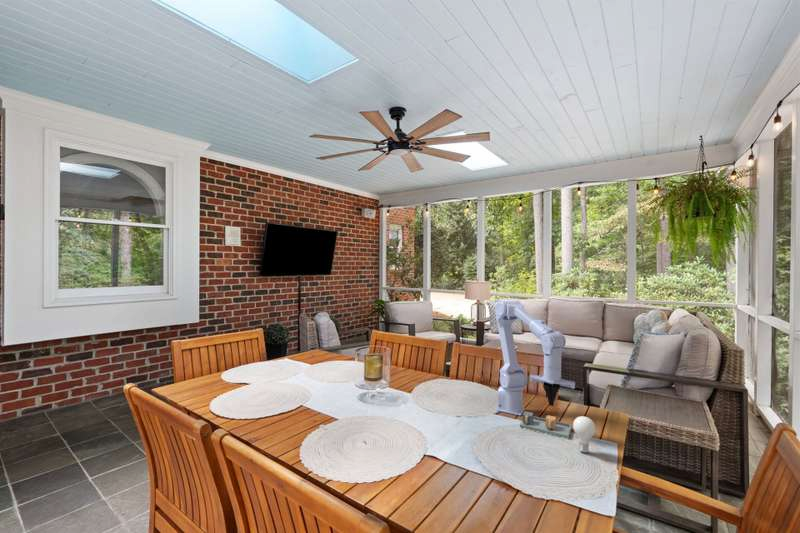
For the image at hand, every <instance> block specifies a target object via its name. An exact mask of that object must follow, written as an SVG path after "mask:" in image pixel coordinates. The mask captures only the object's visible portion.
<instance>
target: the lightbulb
mask: <svg viewBox="0 0 800 533" xmlns="http://www.w3.org/2000/svg"><path fill="white" fill-rule="evenodd" d="M572 427H573V431H574V432H575V434H576V436H577V440H578V445H579V446H578V450H579V451H580V452H581V453H585V454H586V453H589V446H590V442H591V439H592V438H593V437H594V435H595V433H596V430H597V428H596V425H595V423H594V421H593V420H592V419H591V418H590V417H588V416H584V415H581V416H577V417H576V418H575V419H574V420H573V423H572Z"/></svg>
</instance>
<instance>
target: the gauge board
mask: <svg viewBox="0 0 800 533" xmlns="http://www.w3.org/2000/svg"><path fill="white" fill-rule="evenodd" d="M545 424H546V418H543V417H539V416H534V412H531V411H525V410H524V412H523V413H522V421H521V422H520V424H519V428H520V427H521V428H520V429H523V428H526V429H525V430H527V429H530V430H529V431H531V430H534V431H533V432H536V431H539V432H538V433H540V432H543V433H542V434H544V433H547V434H546V435H548V434H552V435H556V436H555V437H557V436H559V437H558V438H561V437H564V438H563V439H565V438H568V439H567V440H570V436H569V435H571V432H572V427H573V424H572V425H571V424H570V423H567V422H562V421H557V420H556V427H555V429H552V428H551V429H549V428H548V427H545ZM552 435H551V436H552Z"/></svg>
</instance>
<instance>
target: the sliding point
mask: <svg viewBox="0 0 800 533" xmlns="http://www.w3.org/2000/svg"><path fill="white" fill-rule="evenodd" d="M545 419H546V424H545V427H548V428H549V429H551V428H552V429H555V427H556V421H557V417H556V416H553V415H549V414H548V415H546V417H545Z"/></svg>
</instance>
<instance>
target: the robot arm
mask: <svg viewBox="0 0 800 533" xmlns="http://www.w3.org/2000/svg"><path fill="white" fill-rule="evenodd" d="M494 312H495V319H496V323H497V329H498V334H499V340H500V346H501V347H500V348H501V350H502V351H501V352H502V357H503V358H502V359H503V366H501V368H500V369H499V383H500V386H499V387H498V389H497V397H496V398H497V401H496V404H497V407H496V411H498V412H502V413H507V414H511V415H515V416H523V413H524V412H525V409H526V408H524V407H523V396H524V395H523V391H524V390H525V387H526V386H527V385H528V376H527V375H526V372H525V368H524V367H523V366H522V365H520V364H519V361H518V357H517V350H516V345H515V340H514V334H513V329H512V324H513V323H515V321H517V319H519V320H521V322H523V323H524V324H526V325H527V326H528V327H529V328H528V329H529V332H530V333H531V334H533V335H534V336H535V337H536V338H538V340H539V341H540V345H541V347H542V352H543V375H536V374H531V375H530V376H529V381H530V382H534V383H535V382H536V383H542V384H543V385H542V388H543V389H544V391H545V392H544V393H545V394H546V397H547V402H548V406H549V407H550V406H551V407H554V405H555V399H556V397H557V394H558V392H559V390H560V388H561V387H564V388H570V389H572V390H574V389H575V388H576V381H573V380H567V379H563V378H562V353H563V352H562V350H563V348H564V347H565V346H566V337H565V335H564V334H563V332H561V331H556V330H554V329H553V328H552V327H550V326H549V325H547V324H546V323H545V321H544V320H543V319H536V318H535V317H533V315H532V314H531V313H529V311H528V310H526V309H525V304H523V303H522V302H520V301H518V300H516V301H498V302H497V303H496V305H495V307H494Z"/></svg>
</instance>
